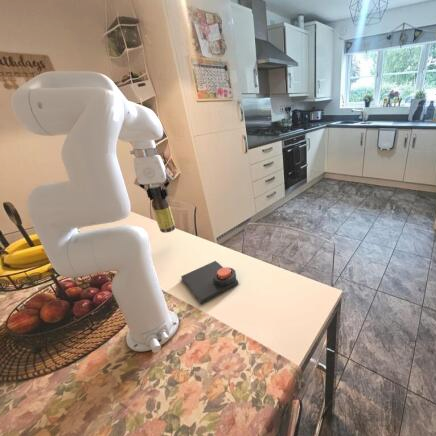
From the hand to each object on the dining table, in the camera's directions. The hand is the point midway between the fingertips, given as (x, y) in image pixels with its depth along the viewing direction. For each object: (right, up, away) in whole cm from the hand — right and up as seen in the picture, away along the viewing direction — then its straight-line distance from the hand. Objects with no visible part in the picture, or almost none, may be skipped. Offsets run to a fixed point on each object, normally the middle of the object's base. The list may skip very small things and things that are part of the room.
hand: (158, 198), depth 100 cm
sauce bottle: (+1, -14, +6) cm, 15 cm away
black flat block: (+26, -30, -16) cm, 43 cm away
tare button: (+32, -27, -18) cm, 46 cm away
